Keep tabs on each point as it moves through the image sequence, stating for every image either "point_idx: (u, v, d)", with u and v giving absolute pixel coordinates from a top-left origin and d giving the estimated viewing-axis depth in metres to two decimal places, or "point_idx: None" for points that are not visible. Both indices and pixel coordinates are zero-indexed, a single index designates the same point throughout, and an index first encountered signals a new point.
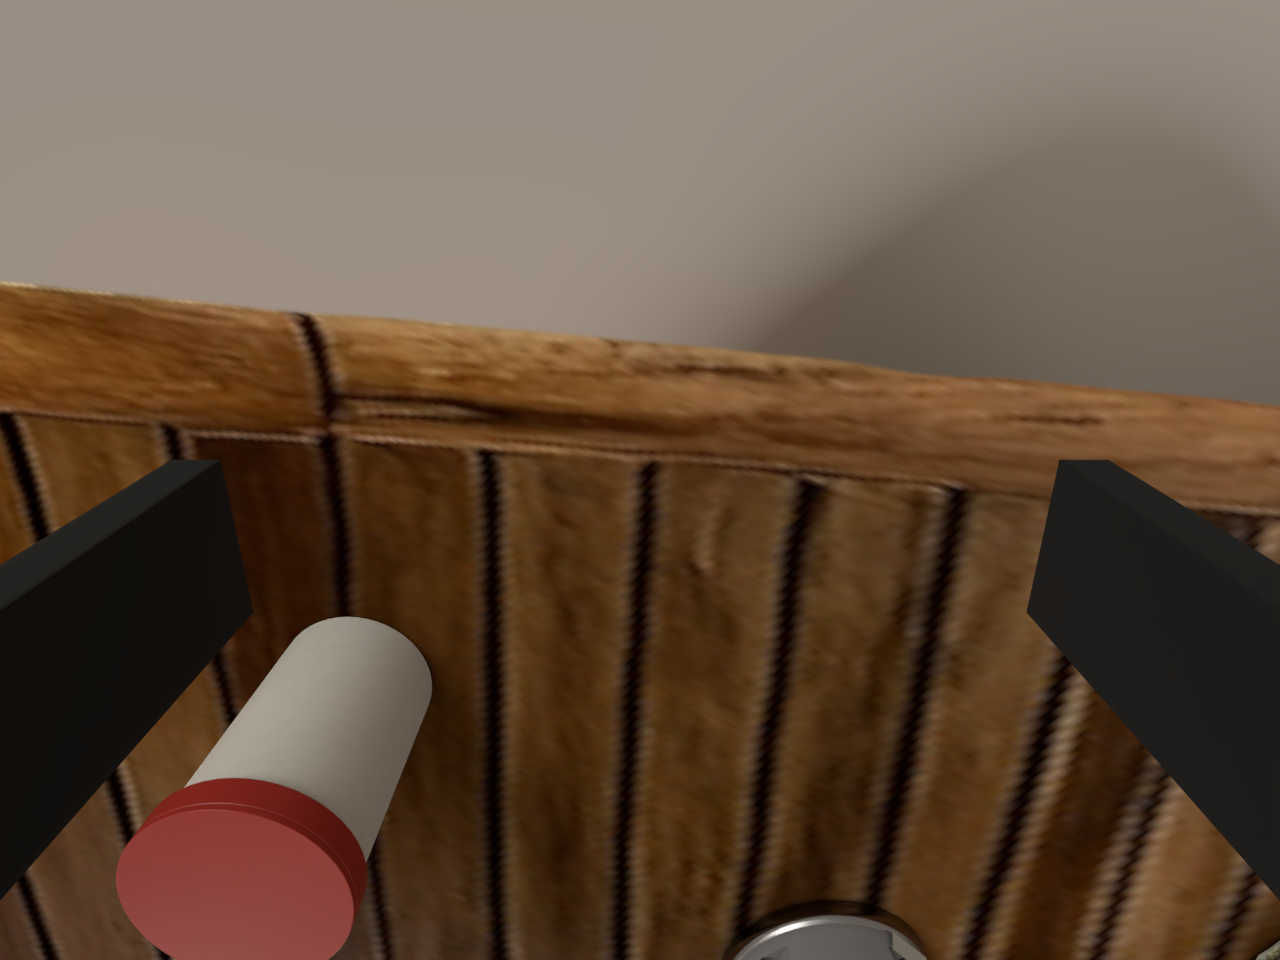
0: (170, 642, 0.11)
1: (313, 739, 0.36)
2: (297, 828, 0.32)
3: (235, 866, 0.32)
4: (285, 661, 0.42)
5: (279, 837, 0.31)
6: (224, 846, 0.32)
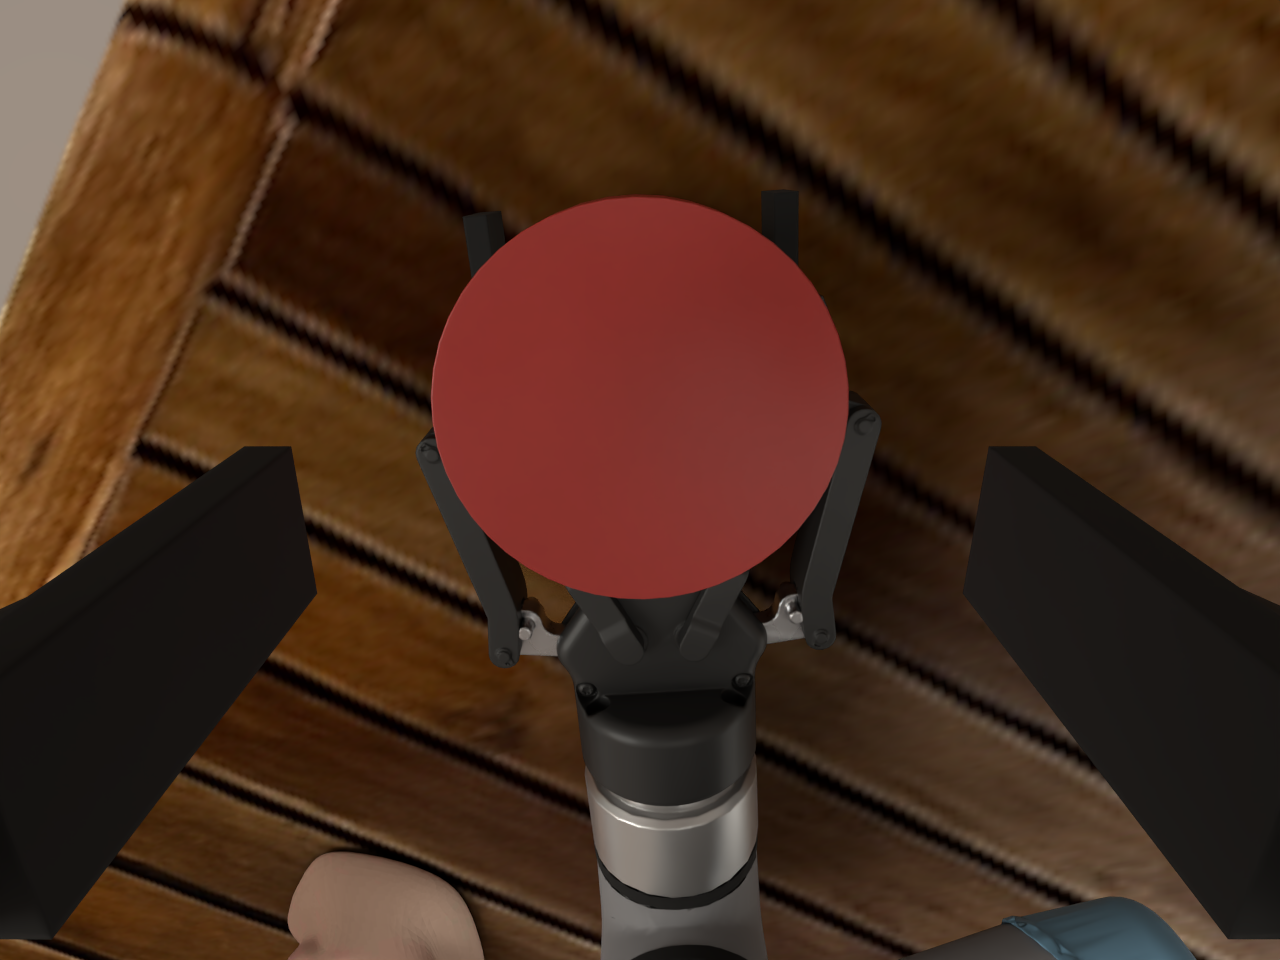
0: (251, 618, 0.11)
1: None
2: (559, 213, 0.17)
3: (575, 368, 0.18)
4: None
5: (555, 250, 0.17)
6: (528, 353, 0.18)
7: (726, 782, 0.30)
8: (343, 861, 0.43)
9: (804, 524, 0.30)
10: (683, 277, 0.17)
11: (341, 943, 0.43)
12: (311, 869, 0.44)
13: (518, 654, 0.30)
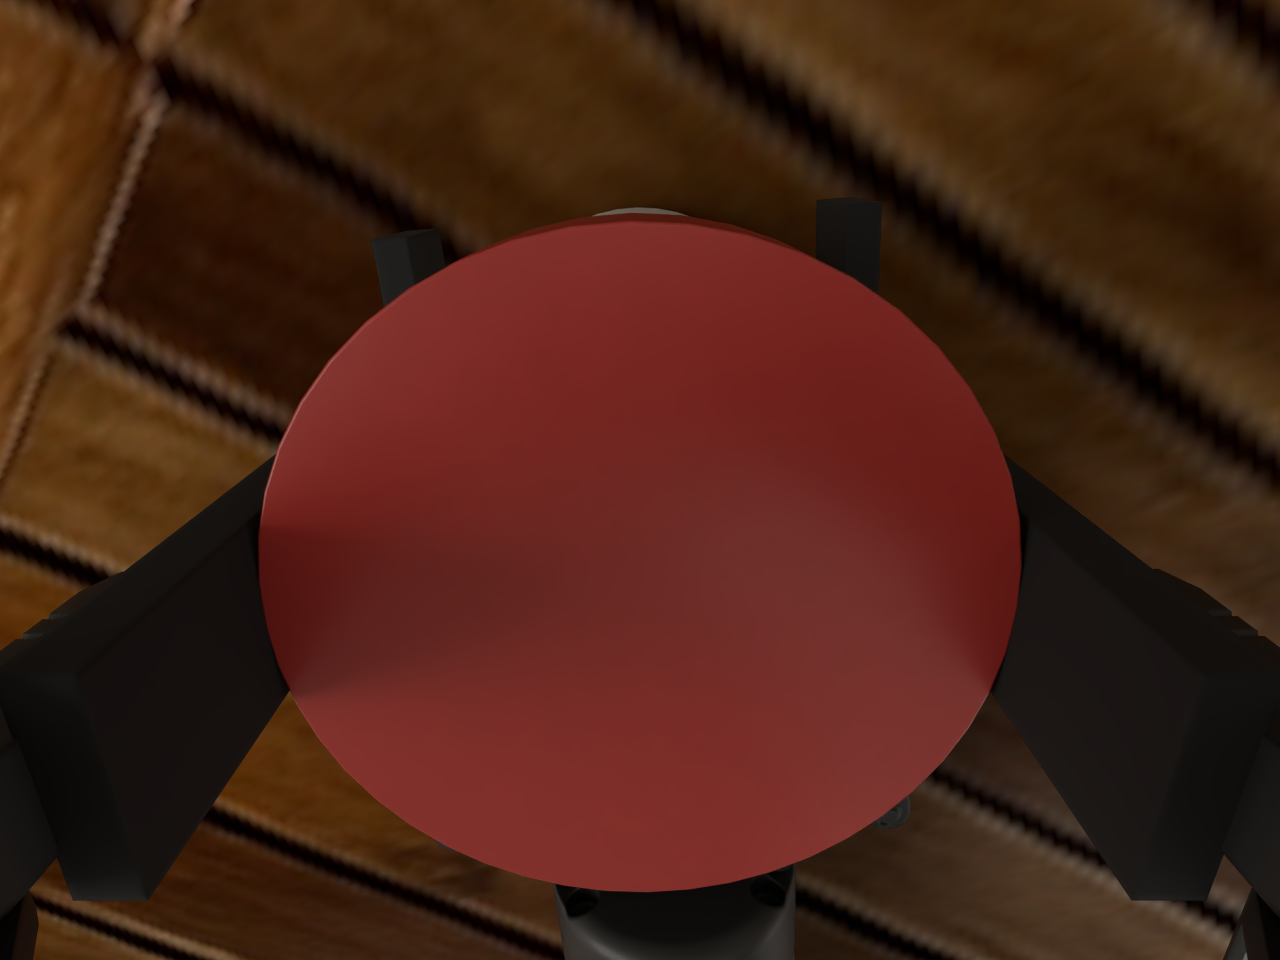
0: None
1: None
2: (481, 253, 0.09)
3: (520, 534, 0.10)
4: None
5: (475, 324, 0.09)
6: (431, 508, 0.10)
7: None
8: None
9: None
10: (723, 374, 0.09)
11: None
12: None
13: None
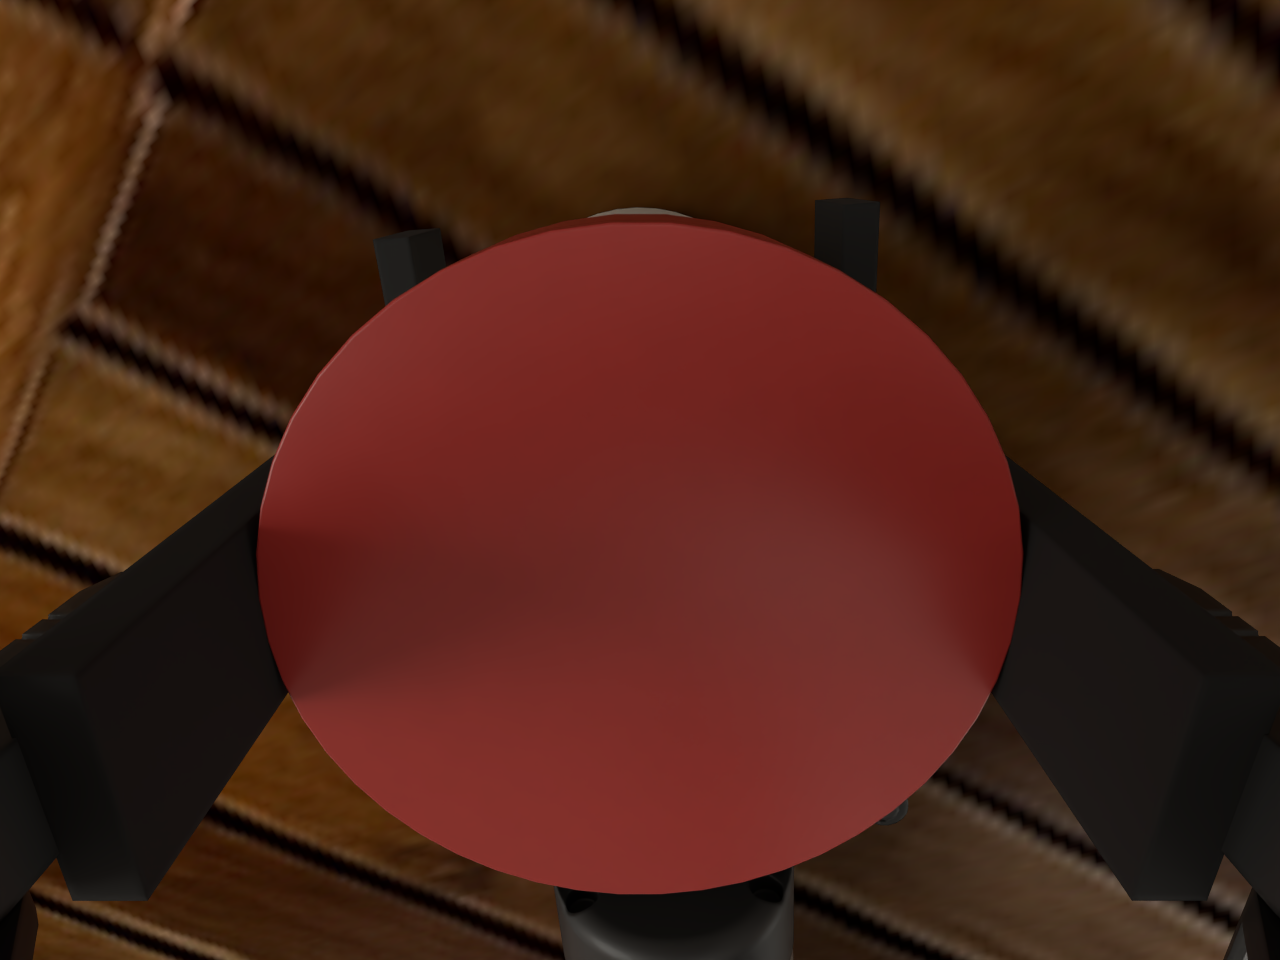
0: None
1: None
2: None
3: (508, 668, 0.10)
4: None
5: (312, 611, 0.10)
6: (453, 716, 0.11)
7: None
8: None
9: None
10: (435, 449, 0.09)
11: None
12: None
13: None
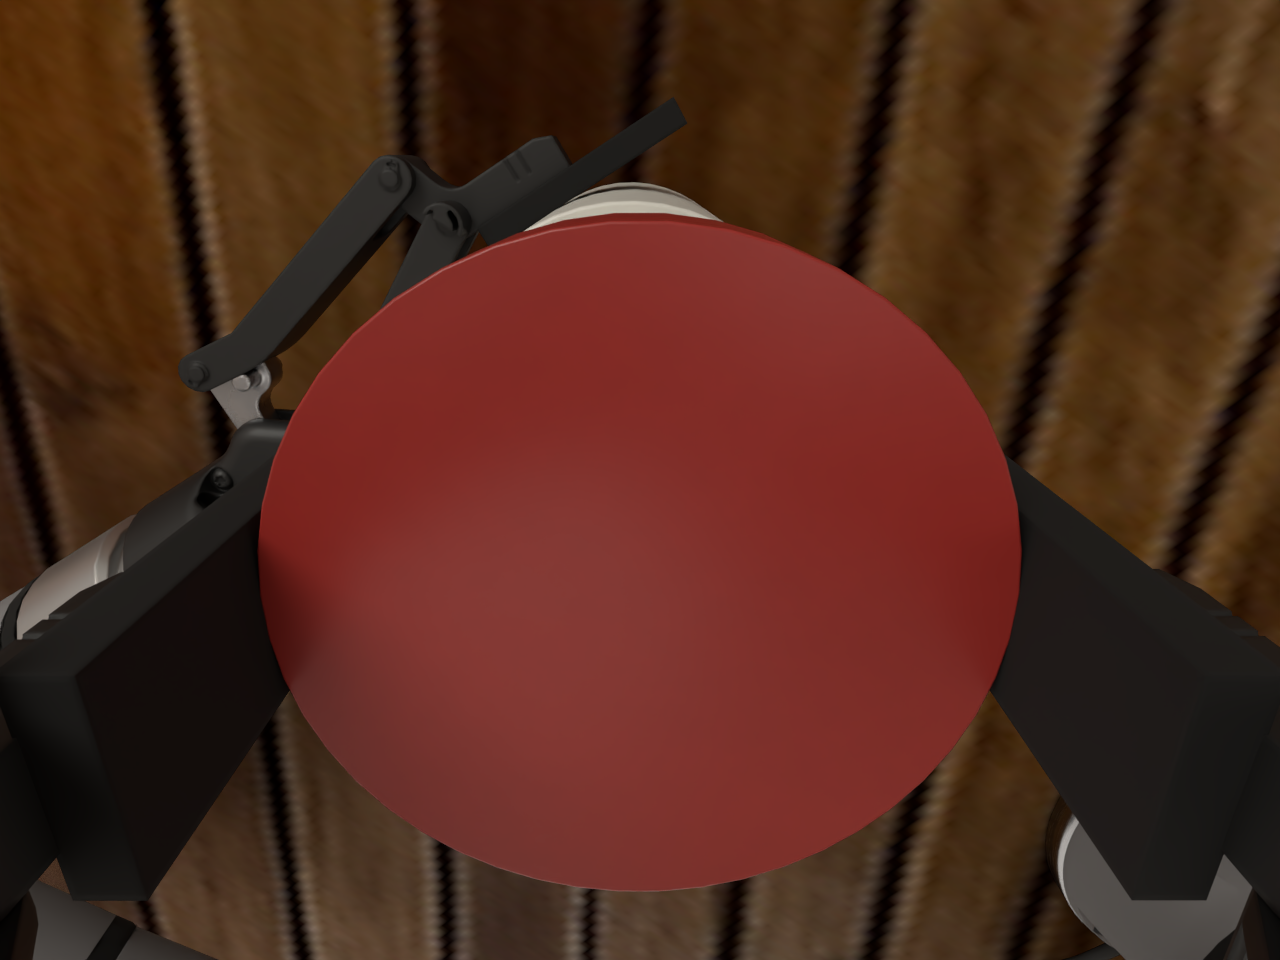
0: None
1: None
2: None
3: (509, 665, 0.10)
4: None
5: (313, 608, 0.10)
6: (453, 714, 0.11)
7: None
8: None
9: None
10: (436, 446, 0.09)
11: None
12: None
13: (210, 388, 0.24)
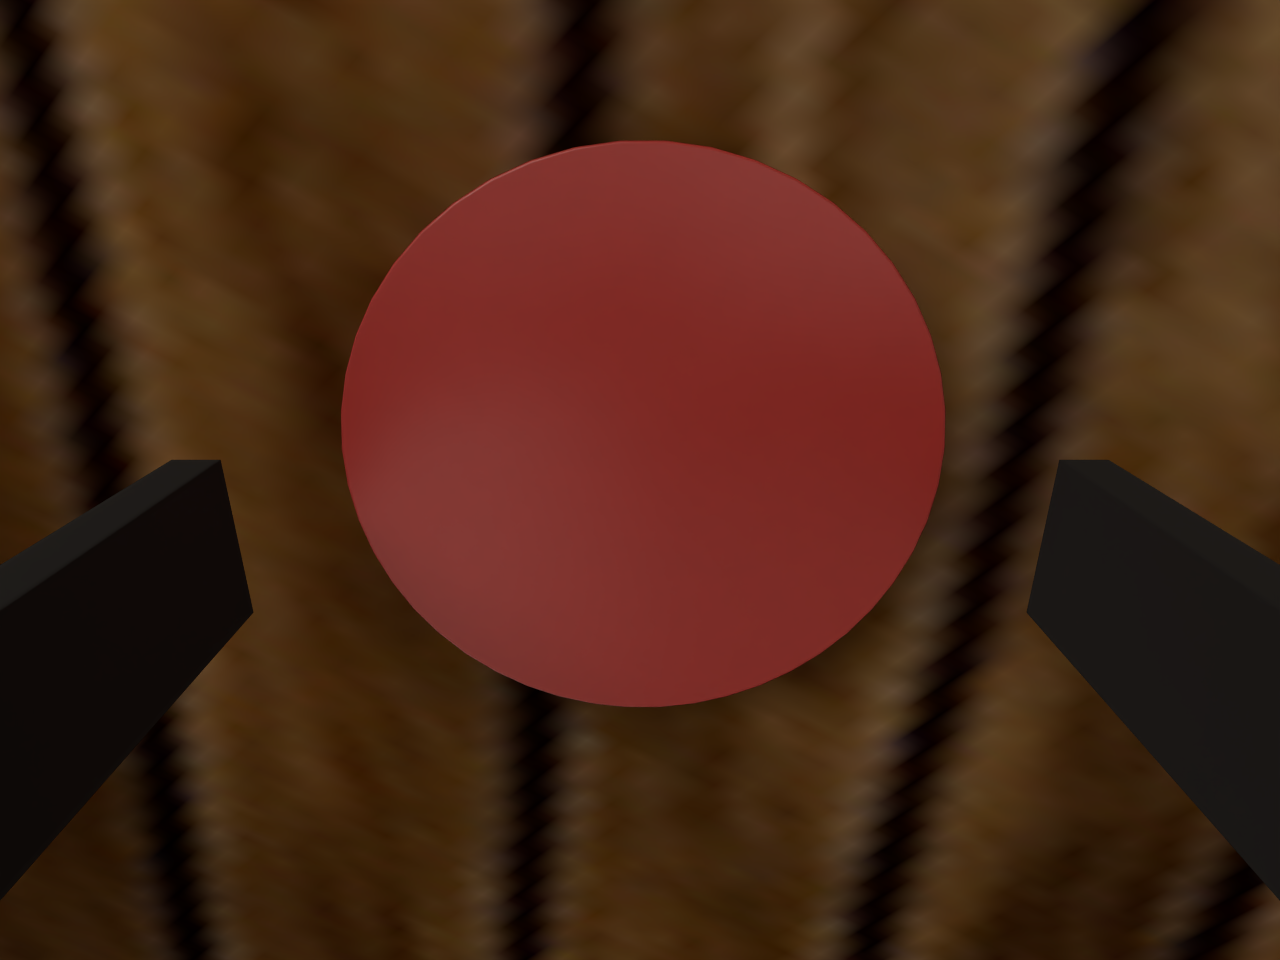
0: (170, 642, 0.11)
1: None
2: None
3: (538, 509, 0.13)
4: None
5: (384, 460, 0.13)
6: (493, 550, 0.13)
7: None
8: None
9: None
10: (483, 324, 0.12)
11: None
12: None
13: None
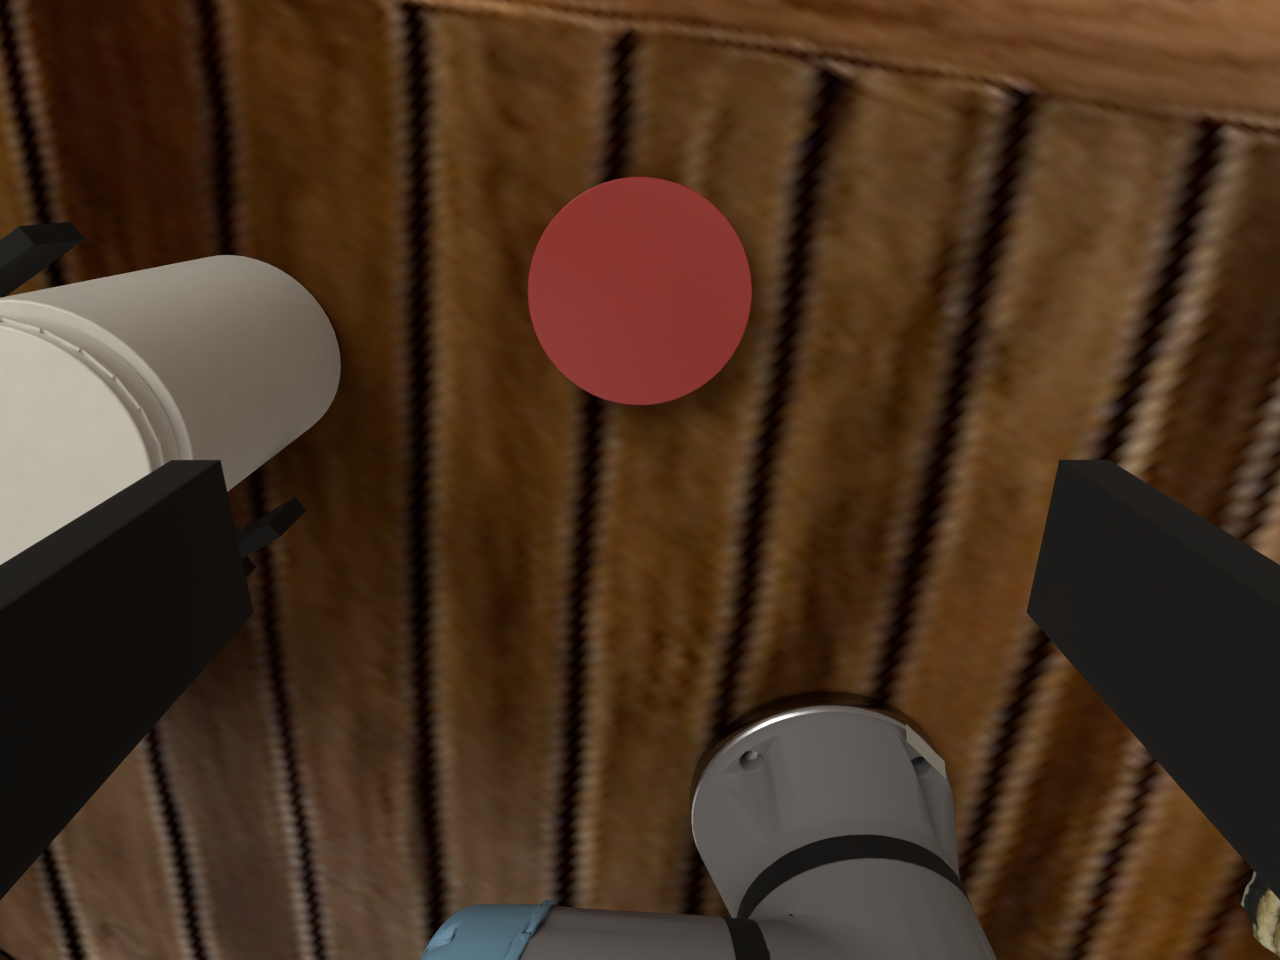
0: (170, 642, 0.11)
1: (142, 299, 0.26)
2: None
3: (600, 314, 0.34)
4: None
5: (543, 294, 0.34)
6: (582, 332, 0.35)
7: None
8: None
9: None
10: (583, 241, 0.33)
11: None
12: None
13: None
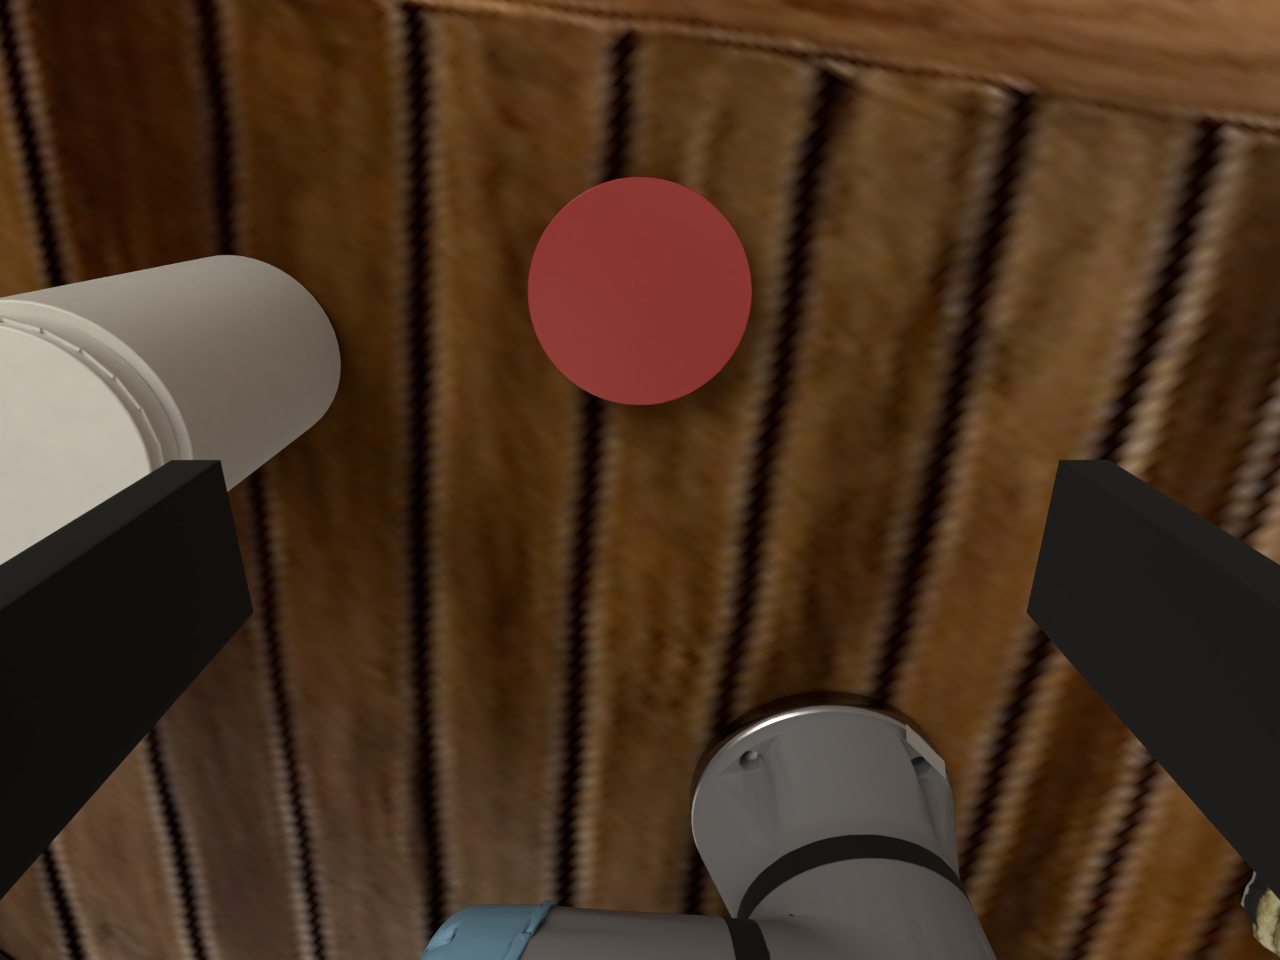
0: (170, 642, 0.11)
1: (142, 299, 0.26)
2: None
3: (600, 314, 0.34)
4: None
5: (543, 294, 0.34)
6: (582, 332, 0.35)
7: None
8: None
9: None
10: (583, 241, 0.33)
11: None
12: None
13: None
